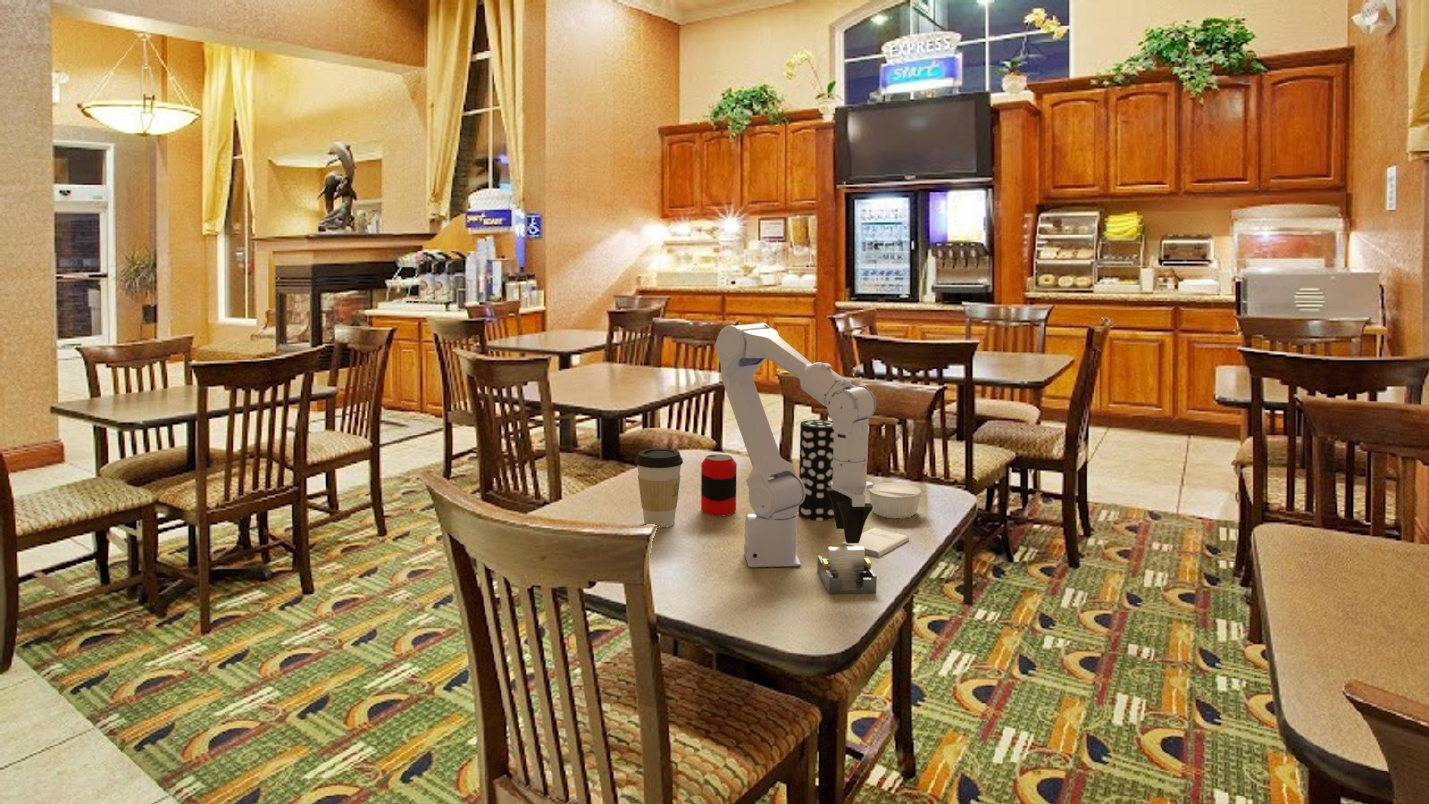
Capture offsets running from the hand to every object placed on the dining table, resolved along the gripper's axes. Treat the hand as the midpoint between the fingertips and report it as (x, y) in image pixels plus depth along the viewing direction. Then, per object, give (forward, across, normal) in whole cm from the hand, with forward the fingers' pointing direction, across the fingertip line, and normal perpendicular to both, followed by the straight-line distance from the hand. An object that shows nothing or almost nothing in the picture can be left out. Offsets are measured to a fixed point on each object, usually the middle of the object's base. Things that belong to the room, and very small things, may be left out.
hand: (847, 535), depth 156 cm
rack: (+8, 0, 0) cm, 8 cm away
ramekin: (+9, +40, -20) cm, 45 cm away
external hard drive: (+9, +19, -10) cm, 24 cm away
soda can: (+9, +42, +18) cm, 47 cm away
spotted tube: (+9, +38, -2) cm, 40 cm away
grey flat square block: (+8, 0, 0) cm, 8 cm away
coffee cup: (+9, +34, +32) cm, 48 cm away
